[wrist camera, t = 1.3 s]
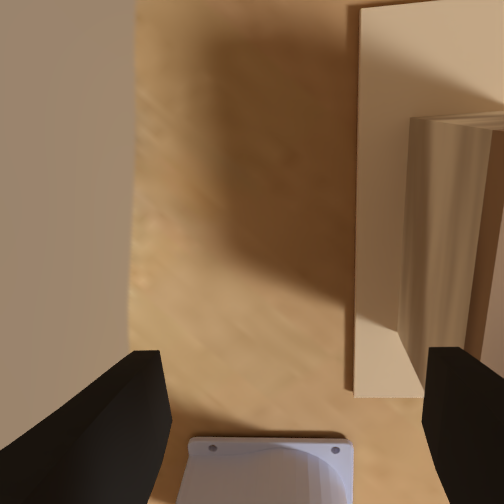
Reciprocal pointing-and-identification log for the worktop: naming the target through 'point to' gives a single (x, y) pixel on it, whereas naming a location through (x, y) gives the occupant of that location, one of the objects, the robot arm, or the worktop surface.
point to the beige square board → (396, 152)
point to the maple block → (454, 239)
